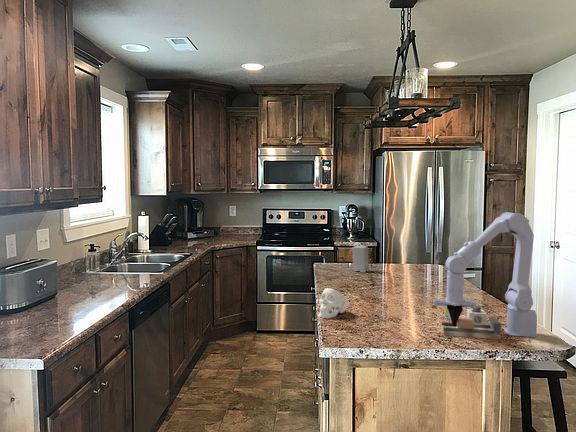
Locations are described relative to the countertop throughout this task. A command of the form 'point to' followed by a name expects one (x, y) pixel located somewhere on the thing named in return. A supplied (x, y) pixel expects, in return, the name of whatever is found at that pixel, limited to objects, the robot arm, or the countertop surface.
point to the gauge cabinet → (477, 316)
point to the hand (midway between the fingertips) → (454, 325)
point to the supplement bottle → (447, 313)
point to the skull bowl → (332, 303)
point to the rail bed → (474, 330)
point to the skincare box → (360, 258)
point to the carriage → (465, 323)
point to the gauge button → (477, 309)
